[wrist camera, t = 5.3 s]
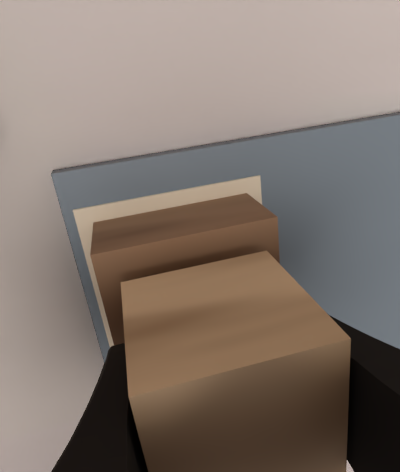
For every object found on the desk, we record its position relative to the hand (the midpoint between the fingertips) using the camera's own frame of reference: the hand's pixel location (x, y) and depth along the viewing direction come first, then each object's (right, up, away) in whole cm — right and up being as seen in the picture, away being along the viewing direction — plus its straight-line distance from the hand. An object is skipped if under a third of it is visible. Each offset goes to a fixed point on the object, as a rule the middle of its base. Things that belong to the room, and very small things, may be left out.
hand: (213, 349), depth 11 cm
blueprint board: (+3, -1, +7) cm, 8 cm away
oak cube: (0, 0, +1) cm, 1 cm away
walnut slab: (-1, +2, +4) cm, 5 cm away
